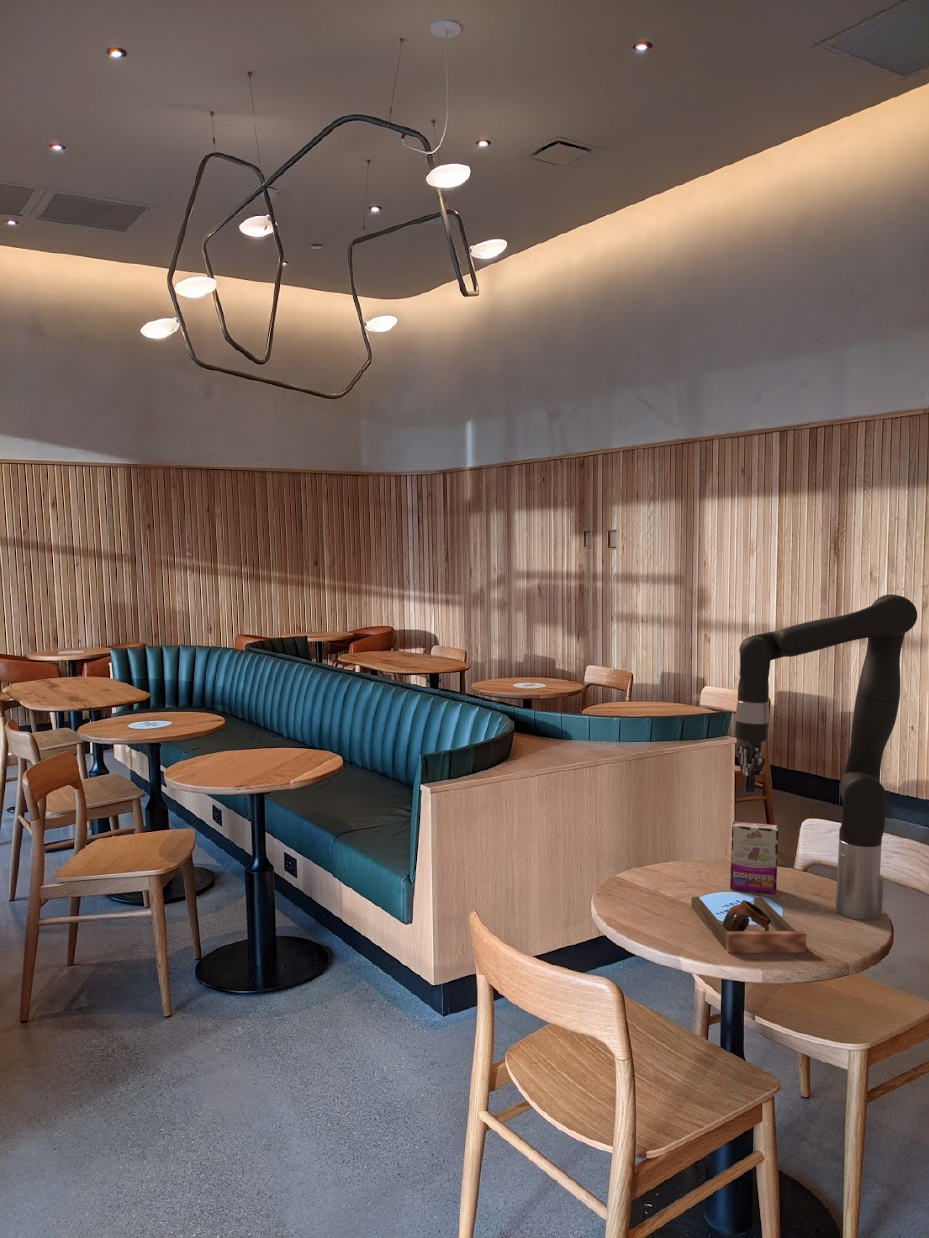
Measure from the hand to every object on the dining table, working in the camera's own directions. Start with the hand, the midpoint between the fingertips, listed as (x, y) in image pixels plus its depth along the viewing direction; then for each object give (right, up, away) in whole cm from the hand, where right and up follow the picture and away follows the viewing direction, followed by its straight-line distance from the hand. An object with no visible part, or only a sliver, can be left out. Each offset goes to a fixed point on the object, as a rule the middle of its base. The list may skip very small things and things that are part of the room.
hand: (749, 790), depth 227 cm
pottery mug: (-7, -29, -19) cm, 35 cm away
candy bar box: (+4, -27, +10) cm, 29 cm away
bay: (-6, -28, -15) cm, 32 cm away
